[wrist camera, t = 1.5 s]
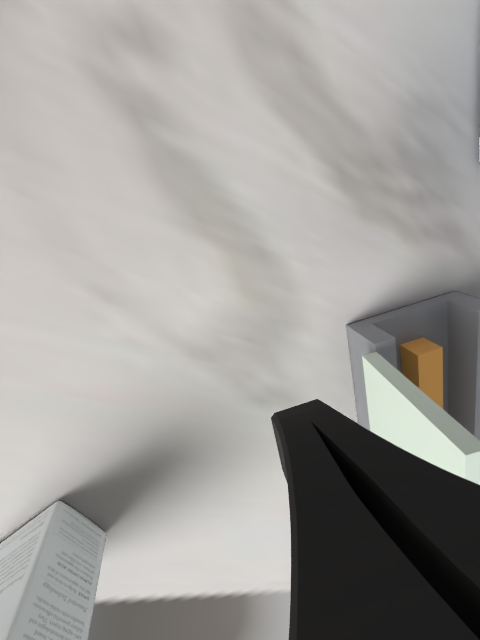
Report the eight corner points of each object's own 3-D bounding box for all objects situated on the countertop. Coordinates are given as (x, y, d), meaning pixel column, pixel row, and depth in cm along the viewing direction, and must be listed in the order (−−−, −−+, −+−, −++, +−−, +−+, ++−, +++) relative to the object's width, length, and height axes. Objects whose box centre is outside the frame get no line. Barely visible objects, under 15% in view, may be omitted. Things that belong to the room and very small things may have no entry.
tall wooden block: (422, 337, 21) (442, 347, 20) (426, 458, 25) (443, 474, 23) (400, 344, 21) (418, 355, 19) (407, 465, 25) (422, 482, 23)
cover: (488, 448, 11) (465, 455, 11) (476, 663, 16) (460, 667, 16) (376, 351, 18) (361, 355, 18) (392, 522, 23) (380, 526, 23)
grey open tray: (454, 291, 21) (497, 304, 19) (453, 457, 27) (487, 487, 24) (346, 325, 21) (374, 344, 18) (366, 490, 26) (391, 525, 23)
